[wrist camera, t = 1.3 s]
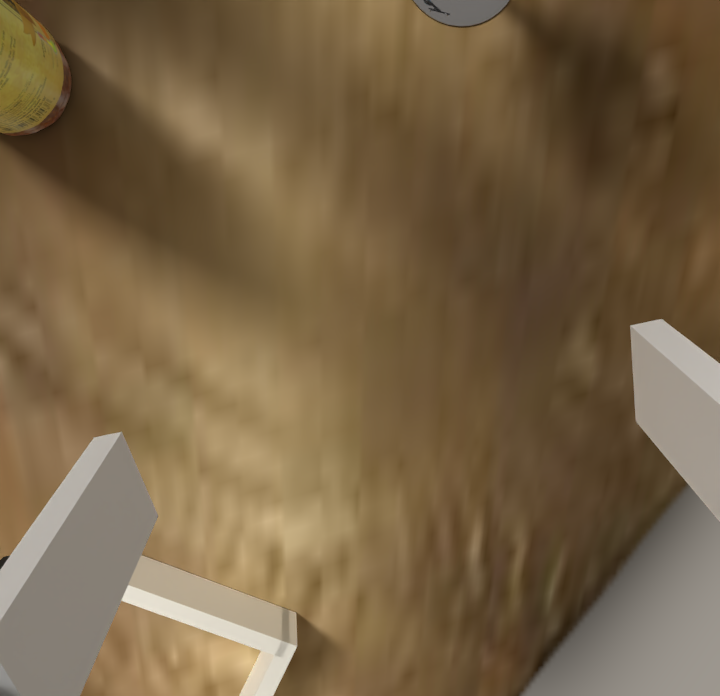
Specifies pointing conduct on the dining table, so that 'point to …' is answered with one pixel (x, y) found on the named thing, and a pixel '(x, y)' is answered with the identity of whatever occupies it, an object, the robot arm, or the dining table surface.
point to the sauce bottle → (29, 73)
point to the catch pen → (220, 617)
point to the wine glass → (461, 10)
